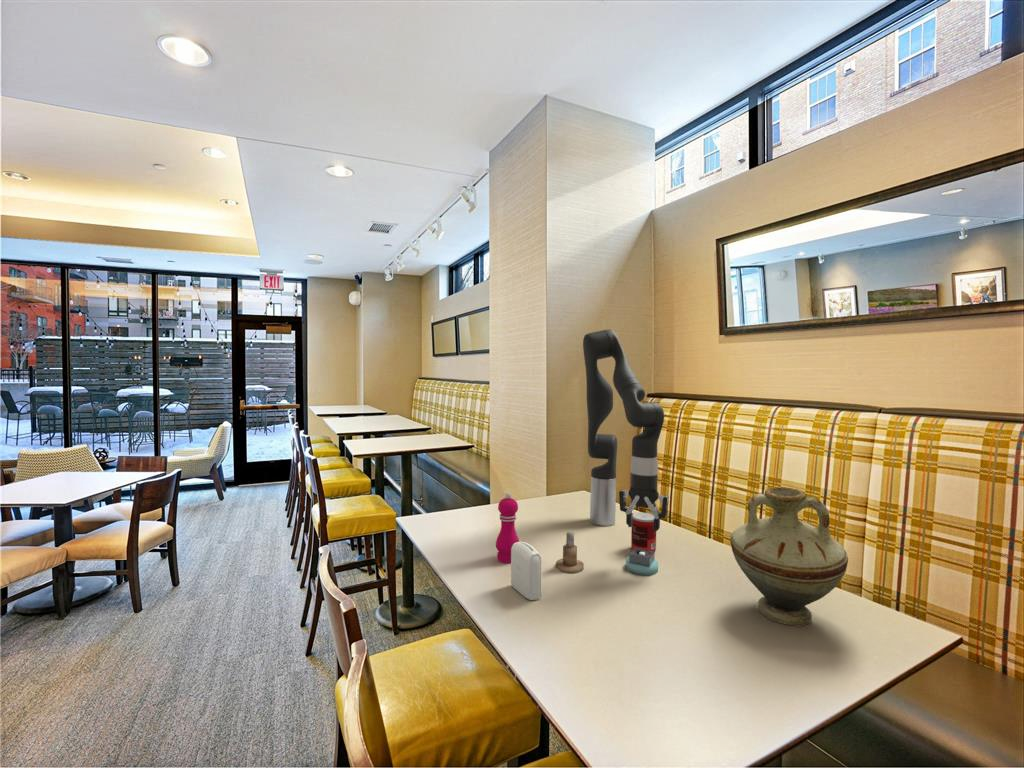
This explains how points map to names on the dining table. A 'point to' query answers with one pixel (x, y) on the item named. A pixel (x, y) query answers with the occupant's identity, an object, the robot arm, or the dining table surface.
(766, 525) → the amphora
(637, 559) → the square metal frame
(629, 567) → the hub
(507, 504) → the pepper mill
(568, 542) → the stand
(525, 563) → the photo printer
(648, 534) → the canned food
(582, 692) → the dining table surface
